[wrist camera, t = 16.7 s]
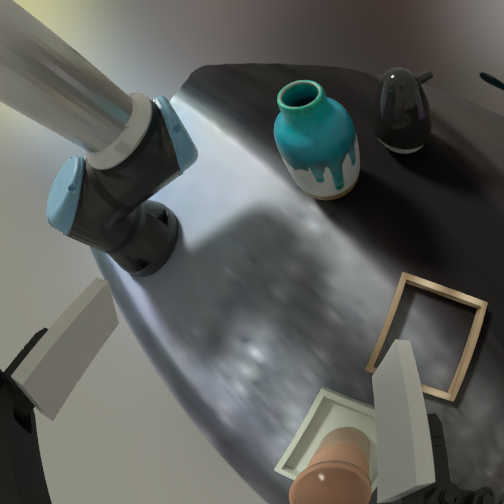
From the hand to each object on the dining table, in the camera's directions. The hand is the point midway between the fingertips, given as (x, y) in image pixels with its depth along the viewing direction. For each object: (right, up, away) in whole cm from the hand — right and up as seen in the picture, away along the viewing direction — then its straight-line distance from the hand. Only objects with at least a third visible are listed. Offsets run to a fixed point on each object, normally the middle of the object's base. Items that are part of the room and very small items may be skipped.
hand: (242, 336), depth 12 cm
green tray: (+13, -23, +18) cm, 32 cm away
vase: (+13, +15, +32) cm, 38 cm away
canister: (+13, -23, +18) cm, 31 cm away
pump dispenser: (+26, +23, +30) cm, 46 cm away
